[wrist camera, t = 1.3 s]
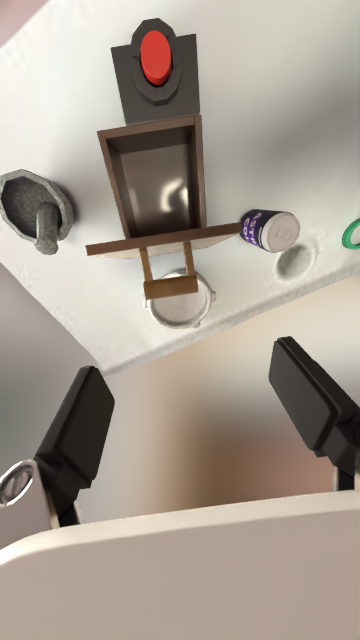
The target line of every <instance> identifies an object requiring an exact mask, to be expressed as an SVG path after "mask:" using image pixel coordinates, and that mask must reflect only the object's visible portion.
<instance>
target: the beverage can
mask: <svg viewBox="0 0 360 640" xmlns="http://www.w3.org/2000/svg"><path fill="white" fill-rule="evenodd" d="M240 223H241V233H240V235H241V237H242V238H243V239H244V240H245V241H247V242H249V243H251V244H254V245H256V246H258V247H260V248H262V249H264V250H266V251H268V252H272V253H275V252H281V251H285V250H287V249H289V248H290V247H291V246H292V245H293V244H294V243H295V242H296V240H297V239H298V237H299V234H300V223H299V221H298V219H297V218H296V217H295V216H294V215H293V214H291V213H289V212H283V211H270V210H252V211H250V212H248V213H247V214H246V215H245V216H244V217H243V218H242V220H241V222H240Z"/></svg>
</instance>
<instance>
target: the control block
mask: <svg viewBox="0 0 360 640" xmlns="http://www.w3.org/2000/svg"><path fill="white" fill-rule="evenodd" d="M154 30H155V31H159V32H160V33H162V34H163V35H164V36H165V38H166V39H167V41H168V44H169V47H170V51H171V68H170V73H169V76H168V78H167V80H166V81H165V82H164V83H163V84H161V85H154V84H152V83H151V82H149V80H148V79H147V78H146V76H145V74H144V71H143V66H142V61H141V44H142V41H143V39H144V37H145V35H146V34H147V33H148V32H150V31H154ZM111 53H112V58H113V63H114V68H115V73H116V78H117V83H118V87H119V92H120V97H121V102H122V107H123V112H124V117H125V122H126V125H127V126H133V125H139V124H145V123H151V122H158V121H164V120H170V119H176V118H183V117H189V116H194V117H195V115H199V113H200V103H199V84H198V64H197V44H196V34H191V35H185V36H179V37H176V36H175V33H174V31H173V29H172V28H171V27H170V26H169V25H167V24H166V23H165V22H163V21H162V20H160V19H159V18H155V19H149V20H144V21H143V22H142V23H141V24H140V26H139V27H138V28H137V30H136V31H135V32H134V34H133V36H132V42H131V44H130V45H124V46H118V47H112V48H111Z"/></svg>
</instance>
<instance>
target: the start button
mask: <svg viewBox="0 0 360 640" xmlns="http://www.w3.org/2000/svg"><path fill="white" fill-rule="evenodd" d="M141 61H142V66H143V71H144V74H145V76H146V78H147V79H148V80H149V82H151V83H152V84H154V85H161V84H163V83H164V82H165V81H166V80H167V78H168V76H169V73H170V68H171V51H170V47H169V44H168V41H167V39H166V38H165V36H164V35H163V34H162V33H160V32H159V31H155V30H154V31H150V32H148V33H147V34H146V35H145V37H144V39H143V41H142V44H141Z"/></svg>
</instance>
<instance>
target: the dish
mask: <svg viewBox="0 0 360 640" xmlns="http://www.w3.org/2000/svg"><path fill="white" fill-rule="evenodd" d="M194 273H195V272H194ZM195 274H196V276H197V281H198V293H193V294H186V295H179V296H172V297H165V298H158V299H152V300H147V299H146V297H145V298H144V301H143V306H144V308H147V307H148V308H149V310H150V312H151V314H152V316H153V318H154V319H155V320H156V321H157V322H158V323H159V324H161V325H164V326H165V327H168V328H173V329H184V328H190V327H193V328H197V327H199V326H200V321H201V319H202V318H204V317H205V316H206V314H207V313H208V311H209V308H210V306H211V302H212V301H215V300H216V293H215V291H211V289H210V287H209V285H208V283H207V282H206V281H205V279H204V278H202V277H201V276H200V275H198V274H197V273H195ZM185 275H187V273H186V270H178V271H174V272H171V273H169V274H167V275H165V276H164V277H162V278H161V279H164V278H171V277H178V276H185Z"/></svg>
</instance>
